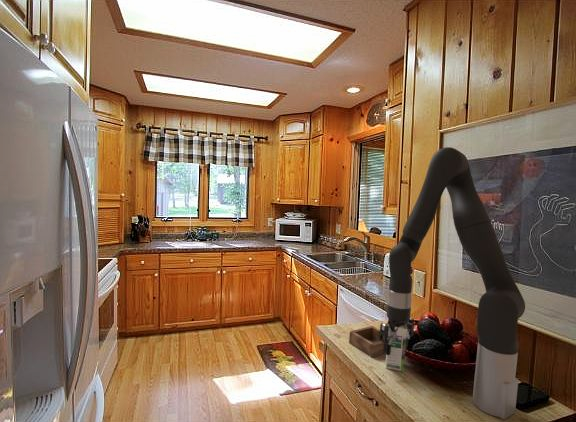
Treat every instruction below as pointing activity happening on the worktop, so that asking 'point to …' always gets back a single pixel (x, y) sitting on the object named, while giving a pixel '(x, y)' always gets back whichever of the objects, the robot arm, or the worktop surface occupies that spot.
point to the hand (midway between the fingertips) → (395, 351)
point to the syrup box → (397, 349)
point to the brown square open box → (367, 341)
